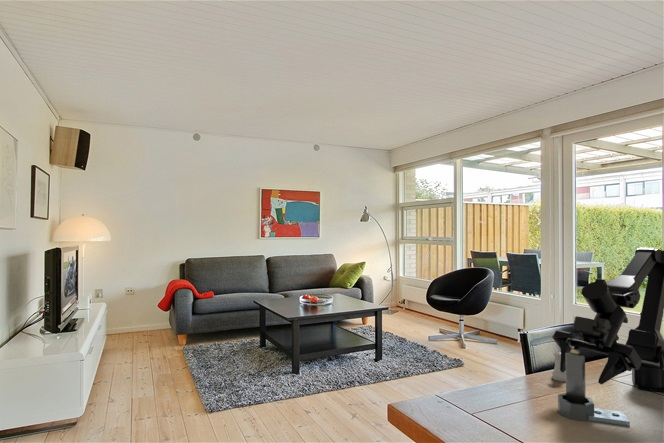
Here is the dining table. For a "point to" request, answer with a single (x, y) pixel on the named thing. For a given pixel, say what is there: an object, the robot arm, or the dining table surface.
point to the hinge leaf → (590, 412)
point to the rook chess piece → (558, 368)
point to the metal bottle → (575, 377)
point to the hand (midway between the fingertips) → (579, 377)
